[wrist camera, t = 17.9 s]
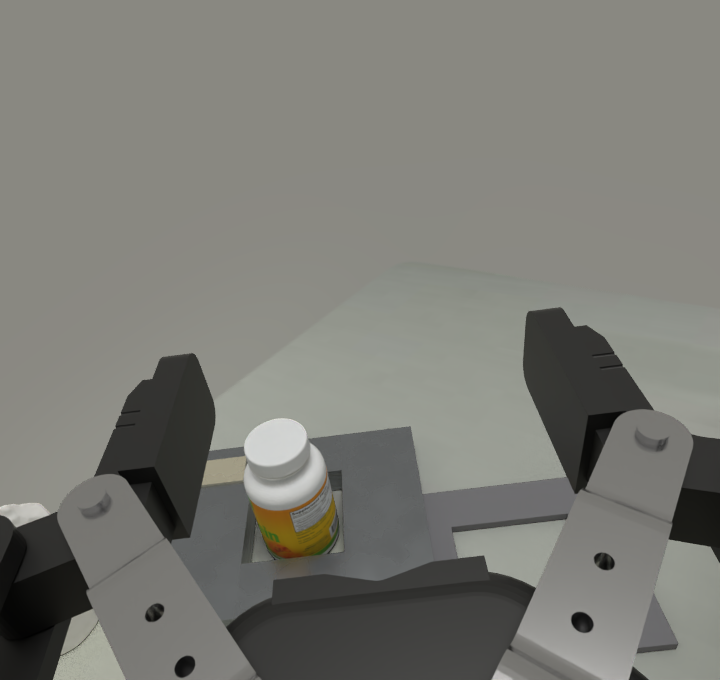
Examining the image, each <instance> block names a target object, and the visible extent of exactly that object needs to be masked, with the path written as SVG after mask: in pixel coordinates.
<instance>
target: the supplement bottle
mask: <svg viewBox="0 0 720 680" xmlns="http://www.w3.org/2000/svg"><path fill="white" fill-rule="evenodd" d="M244 453H245V456H246V459H247V462H248V464H247V466H246V468H245V471H244V487H245V490H246V493H247V496H248V498H249V501H250V504H251V506H252V509H253V512H254V514H255V517H256V520H257V522H258V525H259V528H260V531H261V533H262V536H263V539H264V542H265V544H266V546H267V549H268V551H269V552H270V554H271V555H272V556H273V557H274V558H275V559H276V560H280V559H288V558H297V557H305V556H314V555H323V554H327V553H328V552H329V551H330V550H331V549H332V547H333V546H334V544H335V542H336V540H337V537H338V533H339V521H338V515H337V511H336V506H335V502H334V498H333V494H332V490H331V486H330V481H329V477H328V472H327V468H326V464H325V461H324V458H323V456H322V454H321V453H320V451H319V450H318V449H317V448H316V447H315V446H314V445H312V444H311V443H310V442H309V439H308V436H307V432H306V430H305V428H304V427H303V426H302V425H301V424H300V423H298V422H297V421H294V420H292V419H285V418H280V419H273V420H269V421H267V422H264V423H262V424H260V425H259V426H257V427H256V428H255V429H253V430H252V431H251V432H250V434H249V435H248V437H247V438H246V441H245V444H244Z"/></svg>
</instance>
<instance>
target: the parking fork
mask: <svg viewBox="0 0 720 680" xmlns="http://www.w3.org/2000/svg"><path fill="white" fill-rule="evenodd" d="M422 495H423V501H424V507H425V513H426V518H427V524H428V530H429V536H430V541H431V547H432V553H433V559H434V561H441V560H450V559H458V557H457V552H456V548H455V543H454V538H453V533H452V532H457V531H466V530H474V529H483V528H492V527H500V526H509V525H517V524H526V523H534V522H543V521H552V520H560V519H567V517H568V515H569V513H570V510H571V508H572V506H573V504H574V501H575V499H576V497H577V495H578V494H574V491H573V489H572V487H571V485H570V482H569V480H568V478H567V477H564V478H556V479H547V480H539V481H530V482H522V483H513V484H505V485H497V486H488V487H480V488H471V489H463V490H454V491H446V492H438V493H429V494H422ZM677 646H678V642H677V640H676V638H675V636H674V634H673V631H672V629H671V627H670V625H669V623H668V621H667V619H666V617H665V615H664V613H663V611H662V609H661V607H660V605H659V603H658V601H657V599H656V597H655V595H654V593H653V596H652V599H651V603H650V606H649V610H648V613H647V617H646V620H645V624H644V628H643V631H642V635H641V638H640V642H639V645H638V649H637V652H636V653H640V652H650V651H659V650H668V649H676V648H677Z"/></svg>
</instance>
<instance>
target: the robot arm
mask: <svg viewBox="0 0 720 680" xmlns="http://www.w3.org/2000/svg"><path fill="white" fill-rule="evenodd" d="M523 370H524V377H525V381H526V385H527V387H528V390H529V392H530V394H531V397H532V399H533V401H534V403H535V406H536V408H537V410H538V412H539V415H540V417H541V419H542V421H543V424H544V426H545V428H546V430H547V433H548V435H549V437H550V439H551V442H552V444H553V446H554V448H555V451H556V453H557V455H558V457H559V460H560V462H561V464H562V467H563V469H564V471H565V473H566V476H567V478H568V480H569V482H570V485H571V487H572V489H573V491H574V494H578V495H577V497H576V499H575V501H574V504H573V506H572V508H571V510H570V513H569V515H568V517H567V519H566V522H565V524H564V526H563V528H562V531H561V533H560V535H559V538H558V540H557V542H556V544H555V547H554V549H553V551H552V553H551V556H550V558H549V560H548V562H547V565H546V567H545V569H544V572H543V574H542V576H541V578H540V581H539V583H538V585H537V587H536V588H535V587H533V586H531V585H529V584H527V583H525V582H523V581H520V580H518V579H515V578H512V577H510V576H506V575H502V574H498V573H492V572H488V569H487V565H486V561H485V557H484V556H476V557H468V558H459V559H450V560H441V561H433V562H429V563H427V564H424V565H421V566H419V567H416V568H414V569H411V570H408V571H406V572H403V573H400V574H398V575H395V576H392V577H390V578H387V579H384V580H380V581H373V580H365V579H358V578H351V577H343V576H336V575H329V574H320V575H311V576H303V577H294V578H285V579H277V580H273V590H272V597H271V598H268V599H266V600H264V601H262V602H260V603H258V604H256V605H254V606H252V607H251V608H249V609H248V610H246V611H245V612H243V613H242V614H240V615H239V616H238V617H237V618H236V619H234V620H233V621H232V622H231V623H230V624H229V625H228V626H227V627H225V625H224V624H223V622H222V621H221V619H220V618H219V616H218V615H217V613H216V612H215V610H214V609H213V607H212V606H211V604H210V603H209V601H208V600H207V598H206V597H205V595H204V594H203V592H202V591H201V589H200V588H199V586H198V585H197V583H196V582H195V580H194V579H193V577H192V576H191V574H190V573H189V571H188V570H187V568H186V567H185V565H184V564H183V562H182V561H181V559H180V557H179V556H178V554H177V553H176V551H175V550H174V548H173V547H172V545H171V543H172V540H175V539H183V538H190V536H191V532H192V527H193V522H194V518H195V513H196V509H197V504H198V500H199V495H200V490H201V486H202V481H203V477H204V472H205V468H206V463H207V458H208V454H209V449H210V445H211V440H212V436H213V431H214V426H215V407H214V402H213V399H212V396H211V393H210V390H209V388H208V385H207V383H206V380H205V377H204V375H203V372H202V369H201V366H200V364H199V361H198V359H197V357H196V355H195V354H193V353H191V354H183V355H175V356H168V357H162V358H161V359H160V361H159V363H158V366H157V368H156V371H155V374H154V376H153V379H150V380H143V381H142V382H141V383H140V384H139V385H138V386H137V387H136V388H135V389H134V390H133V391H132V392H131V393H130V394H129V395H128V397H127V399H126V402H125V404H124V407H123V409H122V412H121V416H119V419H118V421H117V423H116V429H114V430H113V433H112V435H111V438H110V440H109V442H108V445H107V448H106V450H105V452H104V455H103V457H102V459H101V462H100V464H99V467H98V469H97V471H96V474H95V476H94V477H93V478H90V479H88V480H86V481H84V482H82V483H81V484H79V485H78V486H77V487H75V488H74V489H73V490H72V491H71V492H70V493H69V494H67V496H66V497H65V498H64V500H63V501H62V503H61V504H60V507H59V509H58V512H55V513H53V514H51V515H48V516H45V517H43V518H40V519H37V520H35V521H32V522H29V523H27V524H24V525H22V526H19V527H15V526H14V524H13V523H12V522H11V521H10V520H9V519H8V518H7V517H5V516H2V515H0V680H53V677H54V674H55V671H56V668H57V664H58V661H59V658H60V655H61V651H62V648H63V645H64V641H65V638H66V635H67V632H68V628H69V625H70V622H71V619H72V618H73V617H75V616H77V615H80V614H82V613H84V612H87V611H89V610H91V609H94V612H95V614H96V616H97V618H98V620H99V622H100V624H101V627H102V629H103V631H104V633H105V635H106V637H107V640H108V642H109V644H110V646H111V648H112V650H113V653H114V655H115V657H116V659H117V661H118V663H119V666H120V668H121V670H122V672H123V674H124V676H125V678H126V680H648V679H647V678H646V677H645V676H644V675H643V674H641V673H640V672H639V671H638V670H637V669H635V668H634V667H633V663H634V660H635V656H636V652H637V649H638V645H639V642H640V638H641V635H642V631H643V628H644V624H645V620H646V617H647V613H648V610H649V606H650V603H651V599H652V596H653V592H654V588H655V585H656V581H657V578H658V574H659V571H660V567H661V564H662V560H663V556H664V553H665V549H666V546H667V542H668V539H670V540H675V541H681V542H687V543H693V544H699V545H705V546H710V547H711V548H712V550H713V552H714V554H715V555H716V557H717V559H718V561H719V563H720V439H715V438H707V437H701V436H696V435H692V434H691V433H690V432H689V430H688V429H687V428H686V427H685V426H684V425H683V424H682V423H681V422H680V421H678V420H677V419H675V418H673V417H671V416H669V415H667V414H664V413H662V412H658V411H654V409H653V408H652V406H651V405H650V404H649V402H648V401H647V399H646V398H645V396H644V395H643V393H642V392H641V390H640V389H639V387H638V386H637V385H636V383H635V382H634V380H633V379H632V377H631V376H630V374H629V373H628V371H627V370H626V368H625V367H623V364H622V363H621V361H620V360H619V358H618V357H617V355H615V354H614V351H613V349H612V348H611V347H610V345H609V344H608V342H607V341H606V339H605V338H604V337H603V336H602V335H600V334H599V333H597V332H596V331H594V330H593V329H591V328H590V327H588V326H587V325H585V326H577V327H574V326H573V324H572V323H571V321H570V319H569V318H568V316H567V315H566V313H565V311H564V310H563V309H562V308H560V307H559V308H551V309H544V310H536V311H529V312H528V313H527V317H526V327H525V342H524V356H523Z"/></svg>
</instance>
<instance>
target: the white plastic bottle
mask: <svg viewBox="0 0 720 680" xmlns="http://www.w3.org/2000/svg"><path fill="white" fill-rule="evenodd" d="M0 515H2V516H5V517H7V518H8V519H9V520H10V521H11V522H12V523H13V524H14V526H15V527H19V526H22V525H24V524H27V523H29V522H32V521H35V520H37V519H40V518H43V517H45V516H48V515H51V514H50V513H49V511H48V510H47V509H46V508H45V507H43V505H41V504H39V503H28V504H21V505H16V504H11V505H4V506H2V507H0ZM97 622H98V618H97V616H96V614H95V612H94V609H91V610H89V611H87V612H84V613H82V614H80V615H77V616H75V617H73V618H72V619H71V622H70V625H69V628H68V632H67V635H66V638H65V641H64V645H63V648H62V651H61V655H63V654H65V653H67V652H69V651H70V650H72V649H74V648H75V647H77V646H78V645H79V644H80V643H81V642H82V641H83V640H84V639H85V638H86V637H87V636H88V635H89V634H90V632H91V631H92V629H93V628H94V627H95V625H96V624H97Z"/></svg>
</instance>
